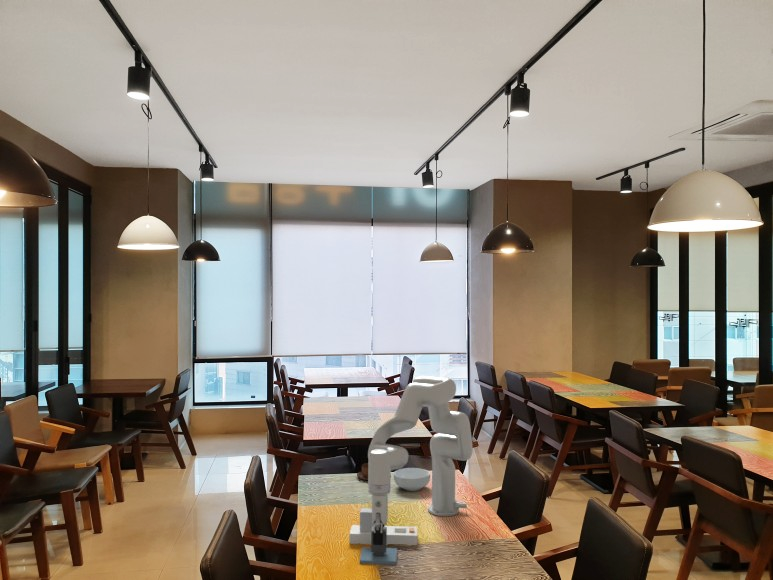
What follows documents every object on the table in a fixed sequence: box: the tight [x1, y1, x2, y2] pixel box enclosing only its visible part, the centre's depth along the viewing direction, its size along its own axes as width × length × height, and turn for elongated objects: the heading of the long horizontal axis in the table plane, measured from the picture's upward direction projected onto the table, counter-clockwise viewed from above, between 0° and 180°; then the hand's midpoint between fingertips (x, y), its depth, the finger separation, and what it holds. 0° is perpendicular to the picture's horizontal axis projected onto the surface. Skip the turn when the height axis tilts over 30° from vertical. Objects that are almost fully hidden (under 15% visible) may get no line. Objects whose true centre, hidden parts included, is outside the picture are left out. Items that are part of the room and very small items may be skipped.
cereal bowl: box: [393, 467, 431, 492], centre depth 268 cm, size 17×17×7 cm
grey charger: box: [359, 507, 374, 532], centre depth 211 cm, size 5×4×8 cm
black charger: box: [370, 527, 388, 557], centre depth 196 cm, size 5×4×8 cm
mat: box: [359, 546, 398, 565], centre depth 196 cm, size 12×10×1 cm
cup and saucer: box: [356, 462, 368, 481], centre depth 282 cm, size 12×12×6 cm
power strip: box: [349, 524, 418, 546], centre depth 210 cm, size 24×8×4 cm, turn 87°
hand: (378, 538), depth 196 cm, fingers open, 9 cm apart
